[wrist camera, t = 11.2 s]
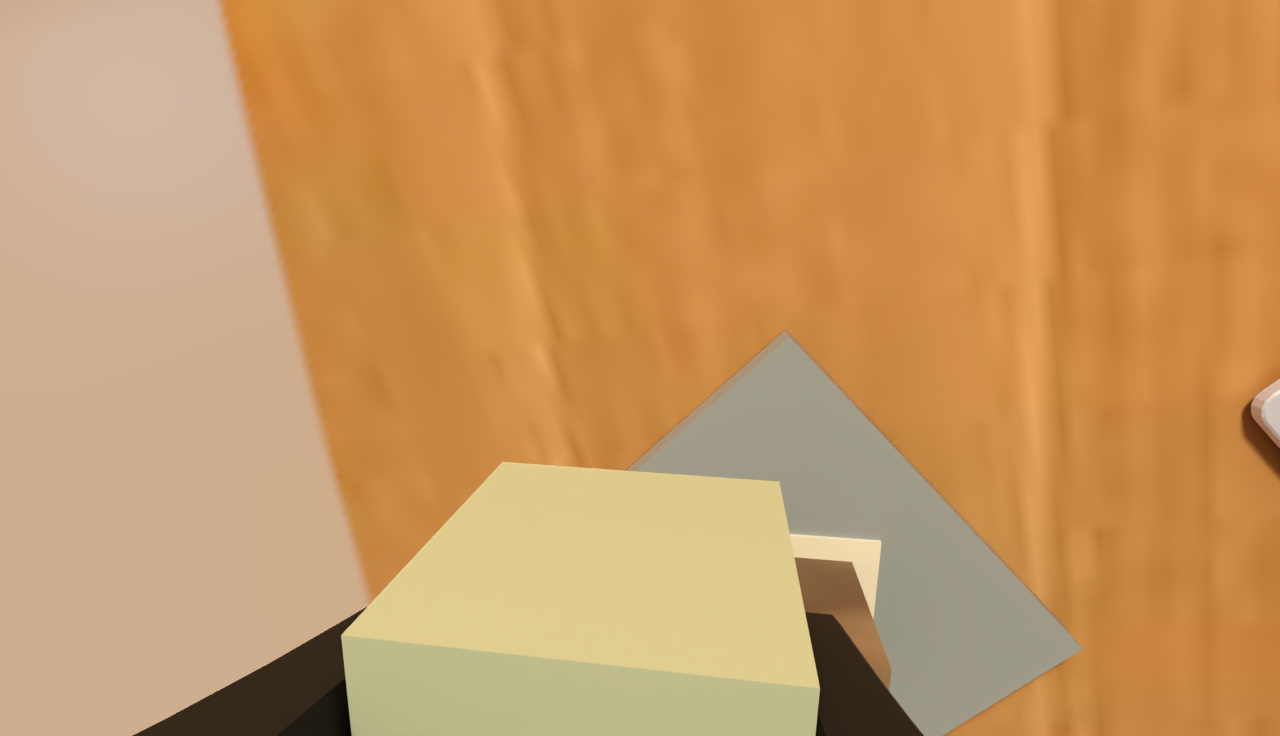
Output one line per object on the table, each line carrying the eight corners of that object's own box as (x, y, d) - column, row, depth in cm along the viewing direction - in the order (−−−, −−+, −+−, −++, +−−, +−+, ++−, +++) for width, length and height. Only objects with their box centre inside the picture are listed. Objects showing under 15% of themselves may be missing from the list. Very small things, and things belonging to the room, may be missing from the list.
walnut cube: (851, 561, 16) (891, 669, 12) (837, 695, 17) (871, 834, 13) (695, 549, 17) (686, 648, 13) (690, 679, 18) (680, 808, 14)
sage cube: (779, 481, 9) (820, 688, 5) (760, 723, 10) (783, 1058, 6) (502, 462, 9) (341, 636, 5) (511, 693, 10) (378, 982, 6)
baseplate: (1062, 624, 17) (1085, 651, 16) (754, 820, 20) (756, 854, 19) (785, 329, 16) (790, 337, 15) (505, 577, 19) (491, 598, 18)
